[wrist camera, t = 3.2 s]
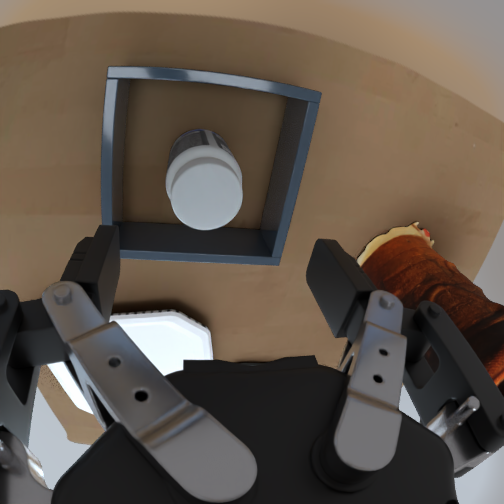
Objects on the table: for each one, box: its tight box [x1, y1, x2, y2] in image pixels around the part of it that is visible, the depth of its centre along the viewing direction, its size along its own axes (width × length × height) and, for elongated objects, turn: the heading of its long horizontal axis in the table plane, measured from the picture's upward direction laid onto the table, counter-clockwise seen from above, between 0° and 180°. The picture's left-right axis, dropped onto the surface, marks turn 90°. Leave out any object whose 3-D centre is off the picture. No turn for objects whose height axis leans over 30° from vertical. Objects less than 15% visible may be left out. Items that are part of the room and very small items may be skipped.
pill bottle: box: [166, 129, 243, 230], centre depth 20 cm, size 5×5×8 cm
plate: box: [47, 309, 213, 414], centre depth 34 cm, size 21×21×2 cm
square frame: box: [101, 66, 322, 266], centre depth 22 cm, size 14×14×4 cm
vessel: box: [357, 222, 504, 426], centre depth 27 cm, size 14×14×20 cm
